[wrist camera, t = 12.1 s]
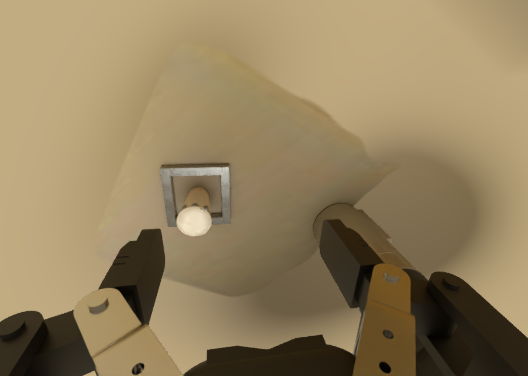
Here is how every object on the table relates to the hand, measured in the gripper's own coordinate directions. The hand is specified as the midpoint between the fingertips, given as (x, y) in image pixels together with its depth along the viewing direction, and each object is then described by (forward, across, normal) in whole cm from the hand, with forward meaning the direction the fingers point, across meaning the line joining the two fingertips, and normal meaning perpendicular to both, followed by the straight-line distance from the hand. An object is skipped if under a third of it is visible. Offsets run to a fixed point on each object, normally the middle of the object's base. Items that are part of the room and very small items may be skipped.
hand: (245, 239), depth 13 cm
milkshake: (+28, +5, +10) cm, 31 cm away
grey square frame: (+28, +5, +10) cm, 30 cm away
